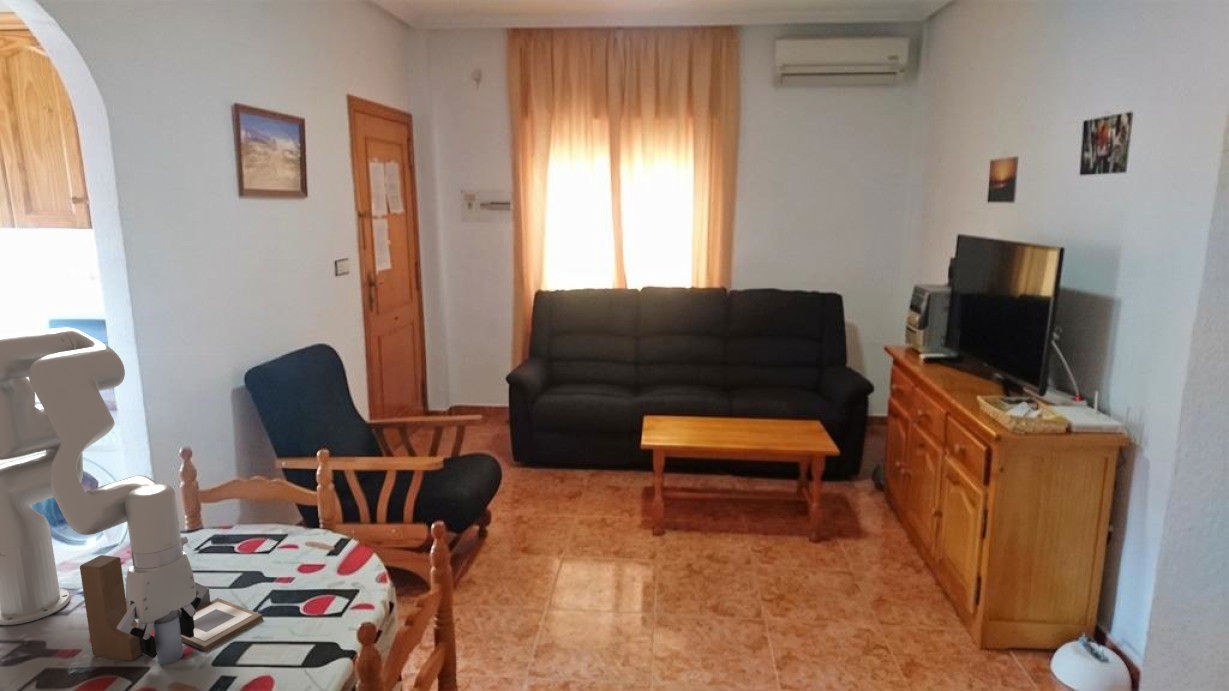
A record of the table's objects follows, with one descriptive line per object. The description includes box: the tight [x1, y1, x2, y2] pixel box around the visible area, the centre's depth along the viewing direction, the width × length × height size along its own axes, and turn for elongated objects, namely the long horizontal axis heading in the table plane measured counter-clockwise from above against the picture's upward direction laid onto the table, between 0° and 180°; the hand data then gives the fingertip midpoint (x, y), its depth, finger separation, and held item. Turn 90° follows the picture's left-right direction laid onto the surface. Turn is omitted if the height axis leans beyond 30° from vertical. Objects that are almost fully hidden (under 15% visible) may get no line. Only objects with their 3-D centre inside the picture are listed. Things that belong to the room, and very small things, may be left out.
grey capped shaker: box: [153, 609, 184, 665], centre depth 129 cm, size 4×4×10 cm
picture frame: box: [181, 597, 264, 652], centre depth 139 cm, size 14×12×1 cm
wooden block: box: [79, 554, 143, 662], centre depth 129 cm, size 9×4×18 cm, turn 78°
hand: (168, 644), depth 129 cm, fingers open, 6 cm apart
